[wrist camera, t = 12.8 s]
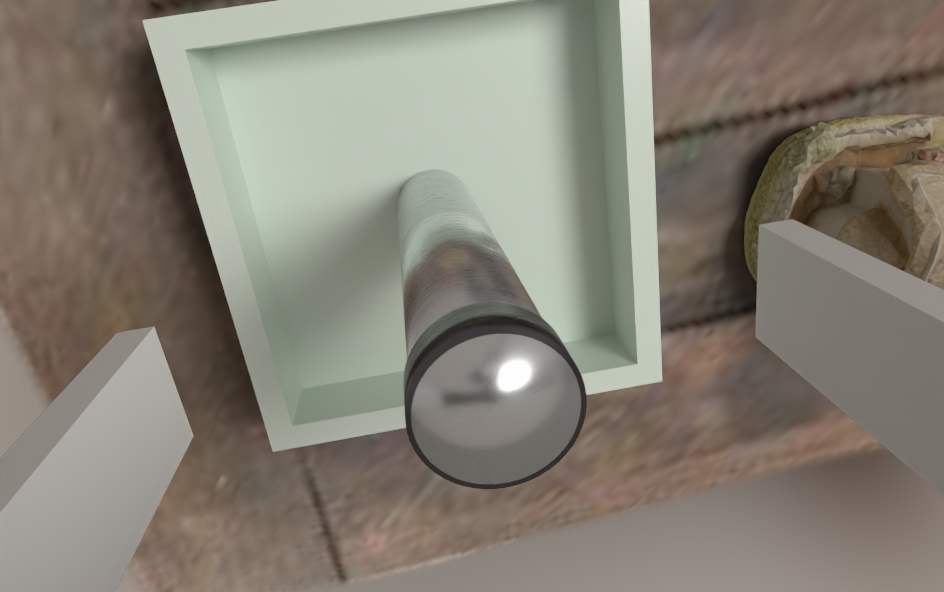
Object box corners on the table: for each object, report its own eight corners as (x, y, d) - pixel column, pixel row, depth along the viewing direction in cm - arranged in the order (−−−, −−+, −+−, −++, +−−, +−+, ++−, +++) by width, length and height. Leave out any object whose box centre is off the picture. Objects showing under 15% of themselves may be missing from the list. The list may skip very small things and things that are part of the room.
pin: (387, 173, 26) (389, 347, 11) (467, 160, 26) (579, 312, 11) (402, 251, 27) (421, 503, 12) (479, 238, 27) (592, 470, 12)
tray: (181, 23, 24) (142, 20, 20) (608, -39, 25) (646, -54, 21) (288, 401, 30) (272, 451, 26) (629, 340, 31) (662, 381, 27)
